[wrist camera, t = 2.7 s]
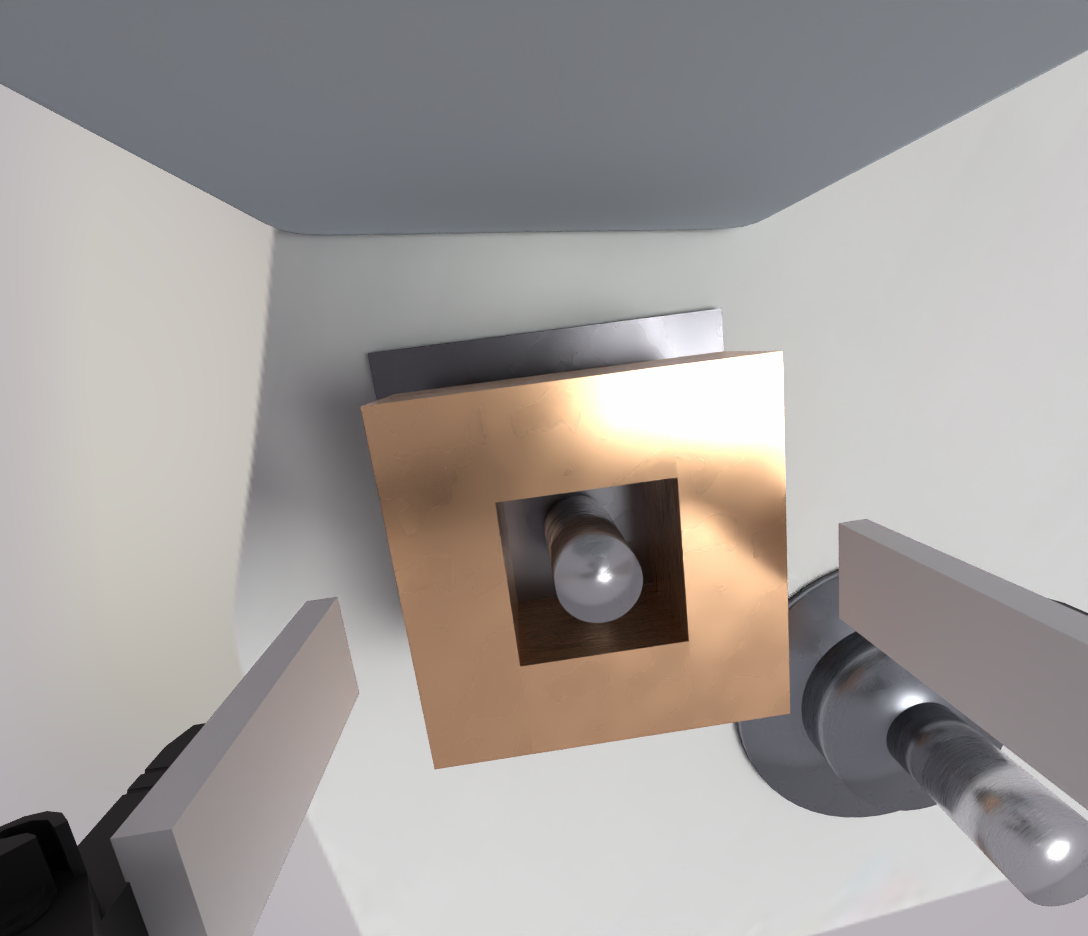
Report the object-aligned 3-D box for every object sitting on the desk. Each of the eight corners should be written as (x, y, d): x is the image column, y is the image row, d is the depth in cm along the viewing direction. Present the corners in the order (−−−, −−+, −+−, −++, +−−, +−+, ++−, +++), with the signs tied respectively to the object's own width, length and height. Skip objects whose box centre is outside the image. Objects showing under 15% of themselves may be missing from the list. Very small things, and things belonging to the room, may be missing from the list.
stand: (371, 353, 21) (277, 353, 12) (716, 309, 21) (851, 281, 13) (432, 664, 24) (390, 832, 15) (731, 619, 24) (847, 759, 16)
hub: (729, 580, 24) (858, 714, 15) (1021, 537, 24) (1312, 642, 15) (741, 828, 27) (854, 1059, 18) (1000, 786, 27) (1231, 990, 19)
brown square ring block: (394, 394, 17) (360, 406, 13) (721, 351, 17) (782, 351, 14) (449, 685, 20) (434, 769, 16) (735, 642, 20) (790, 713, 16)
